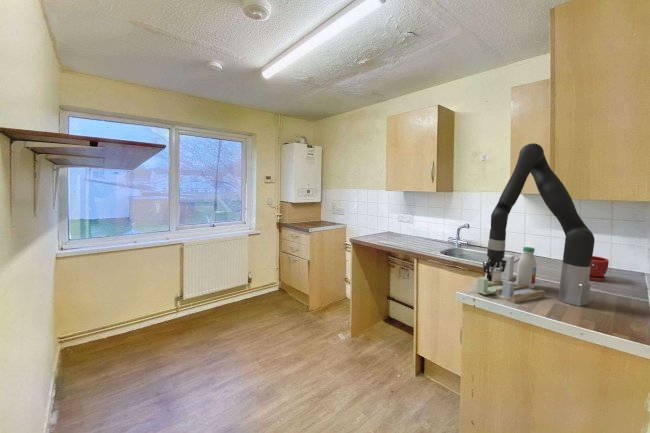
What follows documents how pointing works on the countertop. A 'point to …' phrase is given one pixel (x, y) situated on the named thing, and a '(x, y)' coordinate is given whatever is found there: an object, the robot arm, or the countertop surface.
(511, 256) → the small box
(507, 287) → the slat grey
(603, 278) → the plant pot
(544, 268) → the countertop surface
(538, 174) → the robot arm
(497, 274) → the block
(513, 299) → the lane board
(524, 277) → the milk bottle
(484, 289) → the pale green bracket
